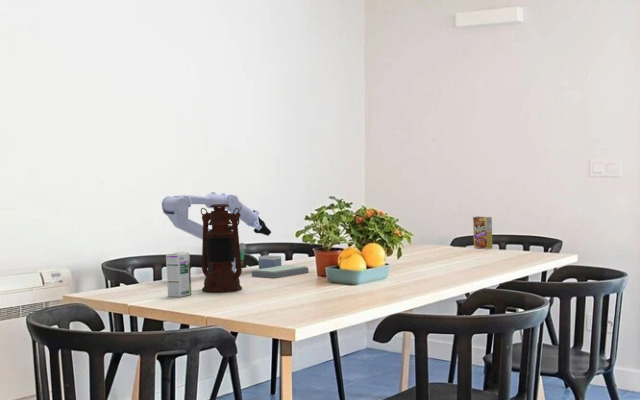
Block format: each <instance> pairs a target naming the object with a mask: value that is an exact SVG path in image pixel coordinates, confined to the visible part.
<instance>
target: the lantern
mask: <svg viewBox="0 0 640 400" xmlns="http://www.w3.org/2000/svg"><path fill="white" fill-rule="evenodd" d="M210 207H214V208H212V209H213V210H211V211H210V212H208V210H207V209H206V208H205V207H202V208H201V209H200V215H201V220H202V226H203V240H202V242H201V243H202V247H201V248H202V251H201V252H202V253H201V271H202V273H203V276H205V278H204V281H203V287H202V289H201V290H202V292H203V293H210V294H211V293H213V294H219V293H220V294H221V293H222V294H223V293H234V292H238V291H242V290H243V287H242V286H241V281H240V277H241V275H242V272H243V268H242V267H241V256H240V246H239V245H240V237H239V236H240V235H239V224H240V221H241V220H240V219H239V217H240V216H241V215H240V213H239V208H236V209H238V212H237V213H236V214H234V212H235V210H236V209H235V210H234V211H233V213H231V212H229V211H228V210H227V209H225V207H229V205H227V204H213V205H211V206H210ZM218 207H221V208H218ZM202 210H205V213H203V211H202ZM209 226H211V228H210V229H211V230H209V231H208V228H209ZM234 261H235V262H236V269H235V273H234V272H233V270H232V266H233V265H232V262H234ZM208 264H210V265H209V267H210V271H209V270H208Z"/></svg>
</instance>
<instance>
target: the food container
mask: <svg viewBox="0 0 640 400" xmlns="http://www.w3.org/2000/svg"><path fill="white" fill-rule="evenodd" d="M239 246H240V256H241V267H242V269H243V268H244V266H245V265H244V263H245V250H246V249H247V246H246V244H245V243H243V242H239ZM235 270H236V262H235Z"/></svg>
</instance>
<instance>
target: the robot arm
mask: <svg viewBox="0 0 640 400" xmlns="http://www.w3.org/2000/svg"><path fill="white" fill-rule="evenodd" d="M213 204H227V205H229V207H225V210H228V212H229V213H233V211H234V210H235V209H236V208H239V213H240V215H241V216H240V217H239V220H240V221H242V222H243V223H244V224H245V225H246V226H248V227H252V228H254V229H253V232H254V233H255V234H262V235H265V236H268V237H269V236H270V235H271V233H272V231H271V230H270V229H269V228H268V227H267V225H266V222H265V221H264V220H262V218H260V216H259V214H260V212H259V210H255V209H253V210H252V209H251V208H249V207H248V206H247V205H245V204H244V203H243V202H241V201H240V200H239V198H238V196H237V195H235V194H234V195H233V194H226V193H225V192H223V193H220V194H219V193H216V192H214V191H213V192H211V191H210V193H208V194H207V195H206V196H202V195H193V194H190V195H189V194H182V195H181V194H179V195H172V196H170V195H169V196H165V197H164V198H163V199H162V201H161V209H162V213H163V214H164V215H166V216H167V218H168V219H169V220H170V222H171V223H172V225H173V226H174V227H175V228H177V229H178V230H181V231H183V232H186V233H188V234H190V235H192V236H194V237H195V238H197V239H200V240H202V241H203V224H200V223H198V222H196V221H194V220H193V219H190V218H189V208H191V206H192V205H205V207H206V208H207V209H213V208H214V207H210V206H211V205H213ZM218 208H221V207H218ZM237 212H238V209H236V210H235V212H234V214H236V213H237ZM211 229H212V228H209V227H208V231H209V230H211ZM232 265H233V266H232V270H233V272H234V273H235V272H236V269H235V261H234V262H232Z"/></svg>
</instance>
